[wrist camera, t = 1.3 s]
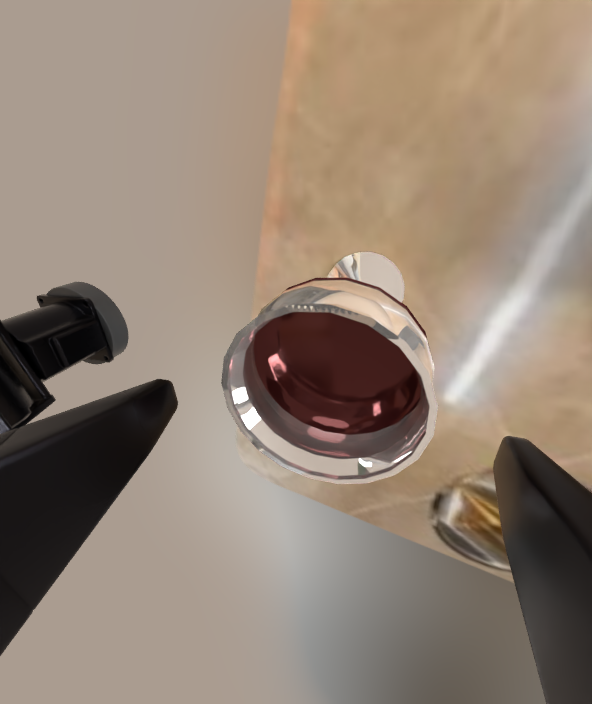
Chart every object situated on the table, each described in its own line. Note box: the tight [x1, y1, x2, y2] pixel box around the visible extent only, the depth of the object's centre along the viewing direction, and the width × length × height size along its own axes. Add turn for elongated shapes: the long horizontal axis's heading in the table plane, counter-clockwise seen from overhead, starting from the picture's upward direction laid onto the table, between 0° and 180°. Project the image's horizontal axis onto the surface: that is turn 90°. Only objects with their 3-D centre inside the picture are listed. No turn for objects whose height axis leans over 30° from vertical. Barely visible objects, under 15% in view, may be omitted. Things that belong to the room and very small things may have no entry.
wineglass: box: [222, 252, 438, 484], centre depth 14 cm, size 7×7×12 cm
